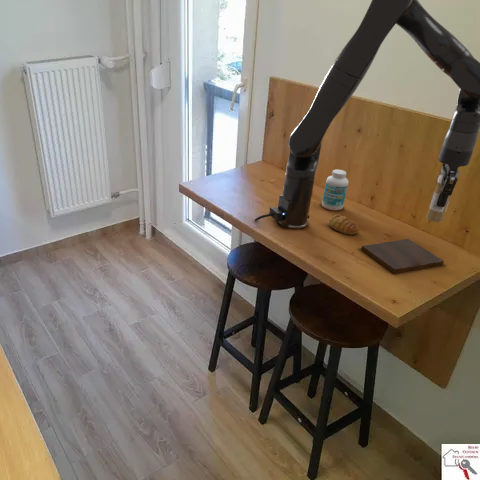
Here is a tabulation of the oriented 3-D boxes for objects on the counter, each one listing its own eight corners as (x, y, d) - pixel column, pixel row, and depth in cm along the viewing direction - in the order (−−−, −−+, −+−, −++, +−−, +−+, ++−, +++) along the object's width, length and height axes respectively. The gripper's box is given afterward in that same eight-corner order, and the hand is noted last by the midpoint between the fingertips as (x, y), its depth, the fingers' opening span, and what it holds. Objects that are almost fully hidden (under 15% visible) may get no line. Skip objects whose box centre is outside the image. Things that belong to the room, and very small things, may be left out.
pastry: (362, 232, 153) (365, 222, 151) (348, 237, 150) (351, 227, 148) (339, 221, 160) (341, 211, 158) (325, 226, 157) (327, 216, 155)
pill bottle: (320, 209, 169) (327, 173, 163) (322, 201, 175) (329, 166, 169) (342, 212, 167) (350, 176, 160) (343, 204, 173) (351, 169, 166)
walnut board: (393, 273, 131) (394, 269, 130) (361, 250, 143) (362, 245, 142) (442, 265, 136) (444, 260, 135) (407, 242, 147) (408, 238, 147)
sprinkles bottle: (445, 220, 140) (460, 177, 133) (437, 223, 138) (452, 180, 131) (430, 214, 143) (444, 172, 137) (422, 218, 141) (436, 175, 135)
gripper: (440, 137, 137) (423, 192, 145) (445, 151, 125) (426, 210, 133) (470, 141, 134) (451, 196, 142) (477, 155, 123) (456, 215, 131)
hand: (439, 202), depth 138 cm, fingers closed on sprinkles bottle, 4 cm apart
